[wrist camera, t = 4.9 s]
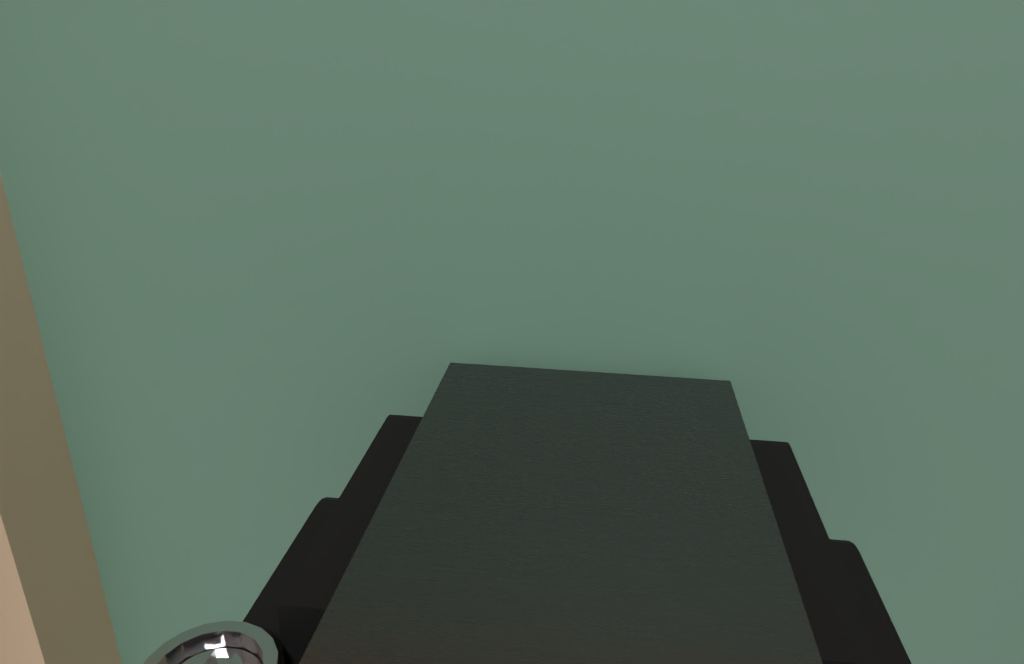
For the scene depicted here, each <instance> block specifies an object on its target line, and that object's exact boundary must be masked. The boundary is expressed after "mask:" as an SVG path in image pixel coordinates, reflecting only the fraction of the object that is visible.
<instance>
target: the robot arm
mask: <svg viewBox="0 0 1024 664" xmlns="http://www.w3.org/2000/svg"><path fill="white" fill-rule="evenodd" d="M422 418H423V417H419V416H405V415H388V417H387V418H386V420H385V421H384V423H383V425H382V426H381V428H380V430H379V431H378V433H377V435H376V436H375V438H374V440H373V441H372V443H371V445H370V447H369V448H368V450H367V452H366V453H365V455H364V457H363V458H362V460H361V462H360V463H359V465H358V467H357V468H356V470H355V472H354V474H353V475H352V477H351V479H350V480H349V482H348V484H347V485H346V487H345V489H344V490H343V492H342V494H341V495H340V497H339V498H332V497H325V498H323V499H321V500H320V501H319V502H318V503H317V505H316V506H315V508H314V509H313V511H312V512H311V514H310V515H309V517H308V519H307V520H306V522H305V523H304V525H303V527H302V528H301V530H300V531H299V533H298V534H297V536H296V538H295V539H294V541H293V542H292V544H291V546H290V547H289V549H288V550H287V552H286V553H285V555H284V557H283V558H282V560H281V561H280V563H279V565H278V566H277V568H276V569H275V571H274V572H273V574H272V576H271V577H270V579H269V580H268V582H267V584H266V585H265V587H264V588H263V590H262V591H261V593H260V595H259V596H258V598H257V599H256V601H255V603H254V604H253V606H252V607H251V609H250V610H249V612H248V614H247V615H246V617H245V618H244V620H243V622H239V621H220V622H214V623H207V624H203V625H201V626H198V627H195V628H192V629H189V630H187V631H184V632H182V633H180V634H179V635H177V636H175V637H174V638H172V639H170V640H168V641H167V642H165V643H164V644H162V645H161V646H160V647H159V648H158V649H157V650H156V651H155V652H153V653H152V654H151V655H150V656H149V657H148V658H147V659H146V661H145V662H144V664H299V663H300V661H301V659H302V657H303V655H304V653H305V651H306V649H307V647H308V645H309V643H310V641H311V639H312V637H313V635H314V633H315V631H316V629H317V627H318V625H319V623H320V621H321V619H322V617H323V615H324V613H325V611H326V609H327V607H328V605H329V603H330V601H331V599H332V597H333V595H334V593H335V591H336V589H337V587H338V585H339V583H340V581H341V579H342V577H343V575H344V573H345V571H346V569H347V567H348V565H349V563H350V561H351V559H352V557H353V555H354V553H355V551H356V549H357V547H358V545H359V543H360V541H361V539H362V537H363V535H364V533H365V531H366V529H367V527H368V525H369V523H370V521H371V519H372V517H373V515H374V513H375V511H376V509H377V507H378V505H379V503H380V501H381V499H382V497H383V495H384V493H385V491H386V489H387V487H388V485H389V483H390V481H391V479H392V477H393V475H394V473H395V471H396V469H397V467H398V465H399V463H400V461H401V459H402V457H403V455H404V453H405V451H406V449H407V447H408V445H409V443H410V441H411V439H412V437H413V436H414V434H415V432H416V430H417V428H418V426H419V424H420V422H421V420H422ZM750 442H751V445H752V449H753V452H754V455H755V458H756V461H757V464H758V467H759V470H760V473H761V476H762V479H763V482H764V485H765V488H766V491H767V494H768V497H769V501H770V504H771V507H772V510H773V513H774V516H775V519H776V522H777V525H778V528H779V531H780V534H781V537H782V540H783V543H784V546H785V550H786V553H787V556H788V559H789V562H790V565H791V568H792V571H793V574H794V577H795V580H796V583H797V586H798V589H799V592H800V595H801V598H802V602H803V605H804V608H805V611H806V614H807V617H808V620H809V623H810V626H811V629H812V632H813V635H814V638H815V641H816V644H817V647H818V650H819V654H820V657H821V660H822V663H823V664H912V663H911V661H910V659H909V657H908V655H907V653H906V651H905V648H904V646H903V644H902V642H901V640H900V638H899V636H898V633H897V631H896V629H895V627H894V625H893V623H892V621H891V618H890V616H889V614H888V612H887V610H886V608H885V606H884V603H883V601H882V599H881V597H880V595H879V593H878V590H877V588H876V586H875V584H874V582H873V580H872V578H871V575H870V573H869V571H868V569H867V567H866V565H865V563H864V560H863V558H862V556H861V554H860V552H859V550H858V549H857V547H856V546H855V544H854V543H852V542H850V541H847V540H835V539H829V537H828V534H827V532H826V530H825V527H824V525H823V522H822V520H821V518H820V515H819V513H818V511H817V508H816V506H815V503H814V501H813V499H812V496H811V494H810V491H809V489H808V487H807V484H806V482H805V480H804V477H803V475H802V472H801V470H800V468H799V465H798V463H797V460H796V458H795V456H794V453H793V451H792V449H791V446H790V445H789V443H788V442H780V441H766V440H751V439H750Z"/></svg>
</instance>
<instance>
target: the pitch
mask: <svg viewBox="0 0 1024 664" xmlns="http://www.w3.org/2000/svg"><path fill="white" fill-rule="evenodd" d="M450 362H451V363H466V364H481V365H497V366H512V367H527V368H542V369H558V370H573V371H588V372H603V373H619V374H634V375H649V376H664V377H680V378H695V379H710V380H726V381H731V384H732V387H733V390H734V393H735V397H736V400H737V403H738V406H739V409H740V412H741V415H742V418H743V421H744V424H745V427H746V430H747V433H748V436H749V439H751V440H766V441H780V442H788V443H789V445H790V446H791V449H792V451H793V453H794V456H795V458H796V460H797V463H798V465H799V468H800V470H801V472H802V475H803V477H804V480H805V482H806V484H807V487H808V489H809V491H810V494H811V496H812V499H813V501H814V503H815V506H816V508H817V511H818V513H819V515H820V518H821V520H822V522H823V525H824V527H825V530H826V532H827V534H828V537H829V539H835V540H847V541H850V542H852V543H854V544H855V546H856V547H857V549H858V550H859V552H860V554H861V556H862V558H863V560H864V563H865V565H866V567H867V569H868V571H869V573H870V575H871V578H872V580H873V582H874V584H875V586H876V588H877V590H878V593H879V595H880V597H881V599H882V601H883V603H884V606H885V608H886V610H887V612H888V614H889V616H890V618H891V621H892V623H893V625H894V627H895V629H896V631H897V633H898V636H899V638H900V640H901V642H902V644H903V646H904V648H905V651H906V653H907V655H908V657H909V659H910V661H911V663H912V664H1024V0H0V664H144V662H145V661H146V659H147V658H148V657H149V656H150V655H151V654H152V653H153V652H155V651H156V650H157V649H158V648H159V647H160V646H161V645H162V644H164V643H165V642H167V641H168V640H170V639H172V638H174V637H175V636H177V635H179V634H180V633H182V632H184V631H187V630H189V629H192V628H195V627H198V626H201V625H203V624H207V623H214V622H220V621H239V622H243V620H244V618H245V617H246V615H247V614H248V612H249V610H250V609H251V607H252V606H253V604H254V603H255V601H256V599H257V598H258V596H259V595H260V593H261V591H262V590H263V588H264V587H265V585H266V584H267V582H268V580H269V579H270V577H271V576H272V574H273V572H274V571H275V569H276V568H277V566H278V565H279V563H280V561H281V560H282V558H283V557H284V555H285V553H286V552H287V550H288V549H289V547H290V546H291V544H292V542H293V541H294V539H295V538H296V536H297V534H298V533H299V531H300V530H301V528H302V527H303V525H304V523H305V522H306V520H307V519H308V517H309V515H310V514H311V512H312V511H313V509H314V508H315V506H316V505H317V503H318V502H319V501H320V500H321V499H323V498H325V497H332V498H339V497H340V495H341V494H342V492H343V490H344V489H345V487H346V485H347V484H348V482H349V480H350V479H351V477H352V475H353V474H354V472H355V470H356V468H357V467H358V465H359V463H360V462H361V460H362V458H363V457H364V455H365V453H366V452H367V450H368V448H369V447H370V445H371V443H372V441H373V440H374V438H375V436H376V435H377V433H378V431H379V430H380V428H381V426H382V425H383V423H384V421H385V420H386V418H387V417H388V415H405V416H419V417H423V416H424V414H425V412H426V410H427V408H428V406H429V404H430V402H431V400H432V398H433V396H434V394H435V392H436V390H437V388H438V386H439V384H440V382H441V380H442V378H443V376H444V374H445V372H446V370H447V368H448V366H449V364H450Z"/></svg>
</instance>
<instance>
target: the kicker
mask: <svg viewBox="0 0 1024 664" xmlns="http://www.w3.org/2000/svg"><path fill="white" fill-rule="evenodd" d="M299 664H823V663H822V660H821V657H820V654H819V650H818V647H817V644H816V641H815V638H814V635H813V632H812V629H811V626H810V623H809V620H808V617H807V614H806V611H805V608H804V605H803V602H802V598H801V595H800V592H799V589H798V586H797V583H796V580H795V577H794V574H793V571H792V568H791V565H790V562H789V559H788V556H787V553H786V550H785V546H784V543H783V540H782V537H781V534H780V531H779V528H778V525H777V522H776V519H775V516H774V513H773V510H772V507H771V504H770V501H769V497H768V494H767V491H766V488H765V485H764V482H763V479H762V476H761V473H760V470H759V467H758V464H757V461H756V458H755V455H754V452H753V449H752V445H751V442H750V439H749V436H748V433H747V430H746V427H745V424H744V421H743V418H742V415H741V412H740V409H739V406H738V403H737V400H736V397H735V393H734V390H733V387H732V384H731V381H726V380H710V379H695V378H680V377H664V376H649V375H634V374H619V373H603V372H588V371H573V370H558V369H542V368H527V367H512V366H497V365H481V364H466V363H451V362H450V364H449V366H448V368H447V370H446V372H445V374H444V376H443V378H442V380H441V382H440V384H439V386H438V388H437V390H436V392H435V394H434V396H433V398H432V400H431V402H430V404H429V406H428V408H427V410H426V412H425V414H424V416H423V418H422V420H421V422H420V424H419V426H418V428H417V430H416V432H415V434H414V436H413V437H412V439H411V441H410V443H409V445H408V447H407V449H406V451H405V453H404V455H403V457H402V459H401V461H400V463H399V465H398V467H397V469H396V471H395V473H394V475H393V477H392V479H391V481H390V483H389V485H388V487H387V489H386V491H385V493H384V495H383V497H382V499H381V501H380V503H379V505H378V507H377V509H376V511H375V513H374V515H373V517H372V519H371V521H370V523H369V525H368V527H367V529H366V531H365V533H364V535H363V537H362V539H361V541H360V543H359V545H358V547H357V549H356V551H355V553H354V555H353V557H352V559H351V561H350V563H349V565H348V567H347V569H346V571H345V573H344V575H343V577H342V579H341V581H340V583H339V585H338V587H337V589H336V591H335V593H334V595H333V597H332V599H331V601H330V603H329V605H328V607H327V609H326V611H325V613H324V615H323V617H322V619H321V621H320V623H319V625H318V627H317V629H316V631H315V633H314V635H313V637H312V639H311V641H310V643H309V645H308V647H307V649H306V651H305V653H304V655H303V657H302V659H301V661H300V663H299Z"/></svg>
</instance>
